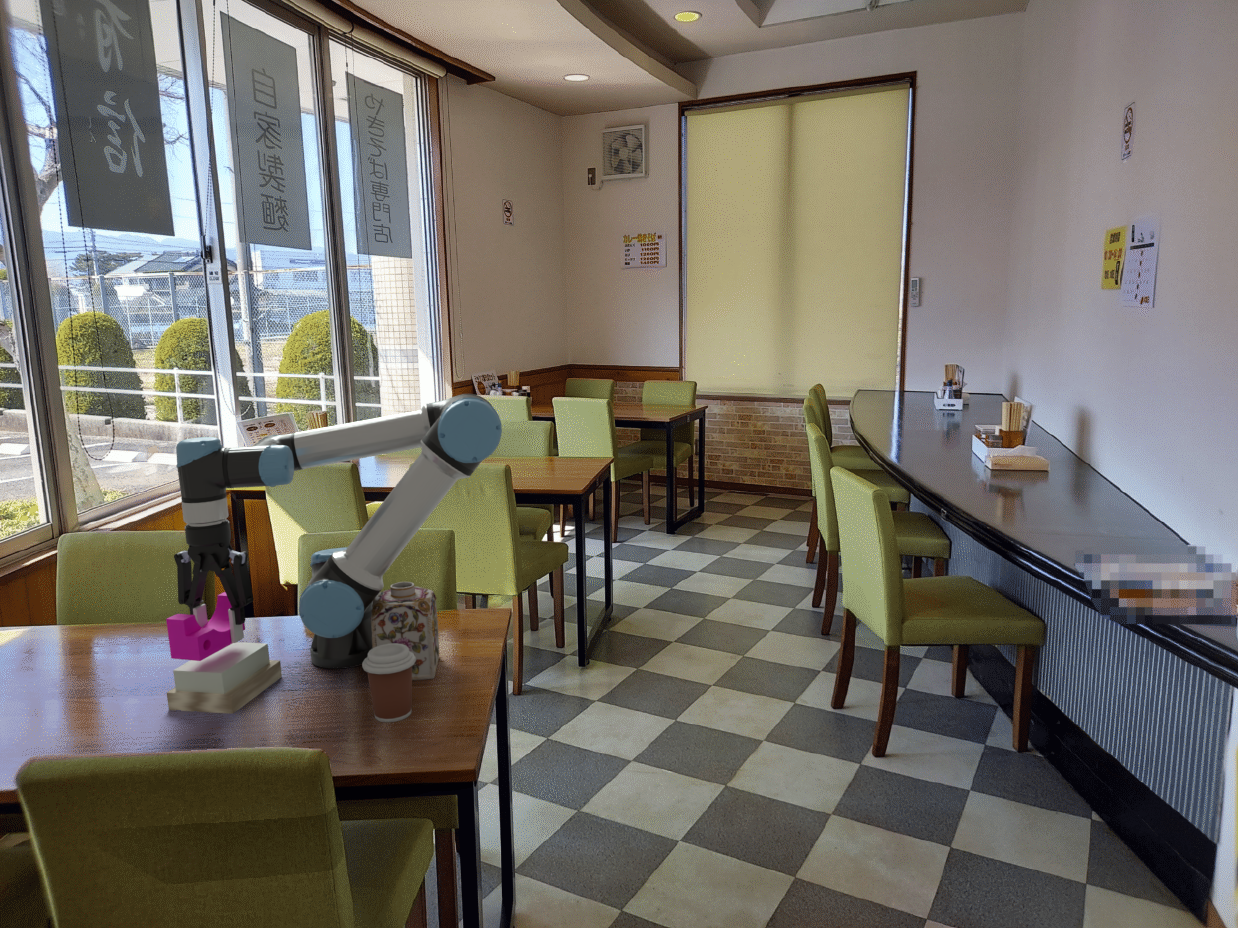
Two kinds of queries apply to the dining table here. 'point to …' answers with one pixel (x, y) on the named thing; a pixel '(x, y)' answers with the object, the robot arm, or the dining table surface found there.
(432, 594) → the decorative jar
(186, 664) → the tower top slab
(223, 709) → the tower base slab
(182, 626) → the toy block
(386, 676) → the coffee cup
